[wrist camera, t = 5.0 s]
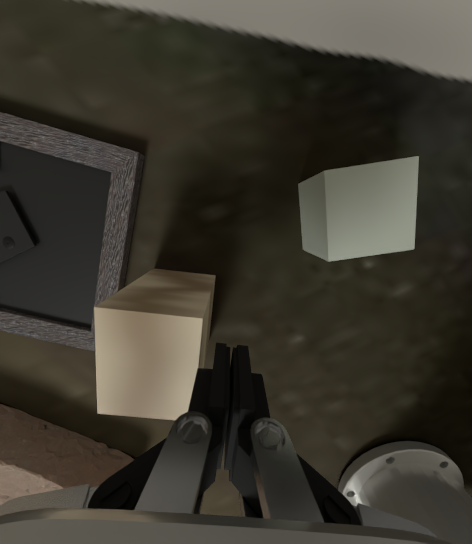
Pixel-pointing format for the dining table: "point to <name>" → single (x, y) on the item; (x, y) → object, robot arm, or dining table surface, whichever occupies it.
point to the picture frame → (62, 229)
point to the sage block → (360, 210)
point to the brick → (49, 457)
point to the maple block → (152, 344)
